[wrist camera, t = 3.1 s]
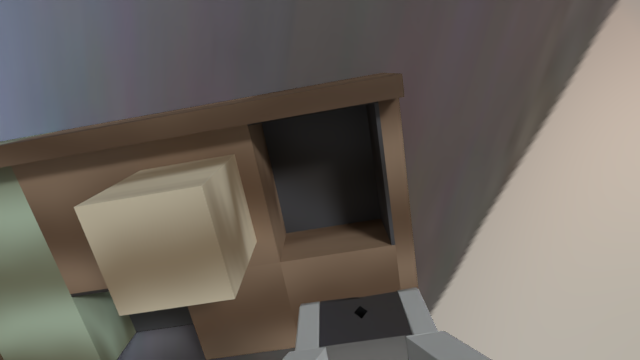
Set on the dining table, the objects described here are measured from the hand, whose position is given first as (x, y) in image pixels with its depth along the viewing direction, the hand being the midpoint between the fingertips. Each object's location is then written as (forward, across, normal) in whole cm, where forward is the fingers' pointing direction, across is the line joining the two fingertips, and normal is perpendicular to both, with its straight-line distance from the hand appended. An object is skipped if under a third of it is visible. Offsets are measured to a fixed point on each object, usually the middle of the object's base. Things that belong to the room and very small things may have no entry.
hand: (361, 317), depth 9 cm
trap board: (+14, +10, +2) cm, 17 cm away
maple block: (+10, +8, -1) cm, 12 cm away
